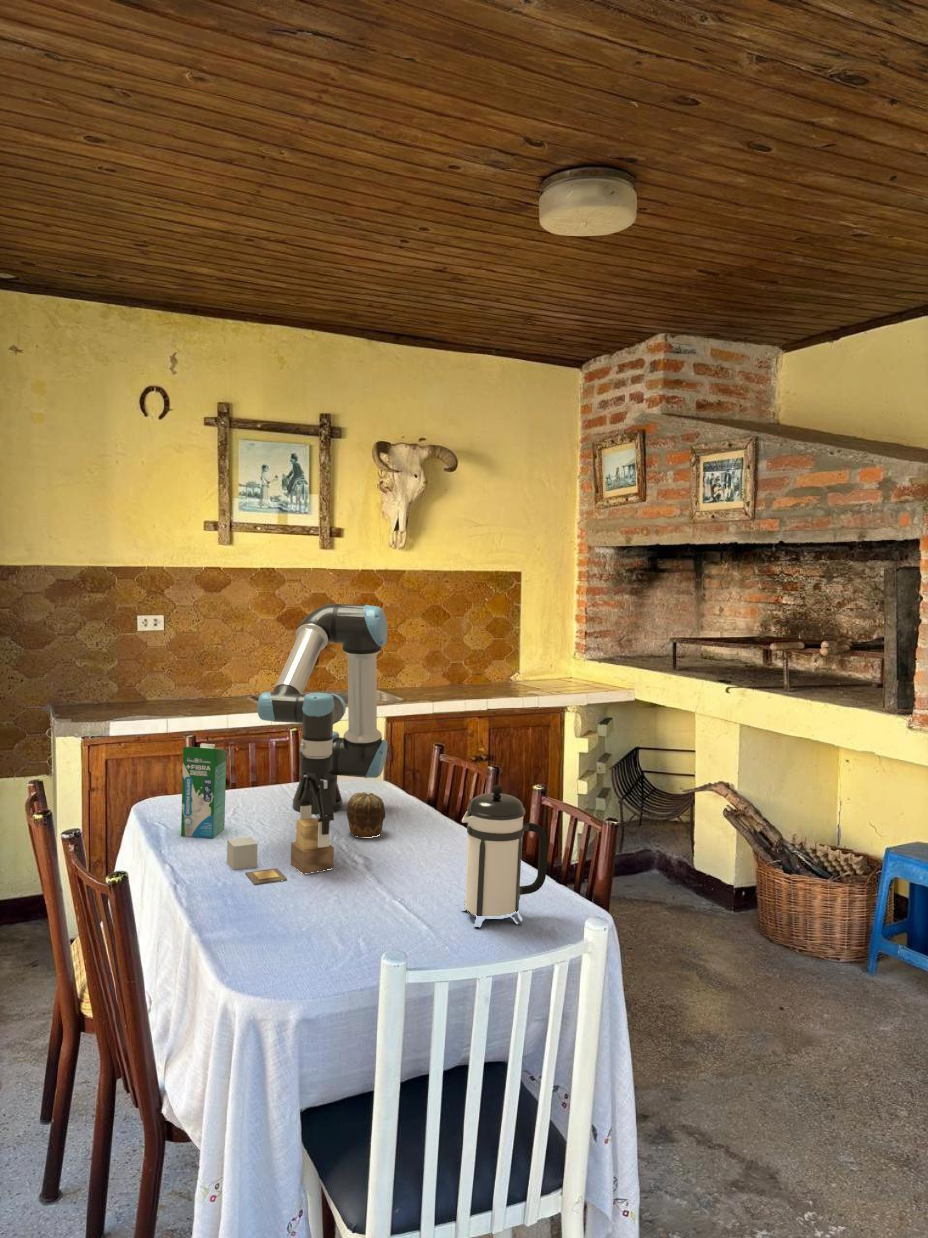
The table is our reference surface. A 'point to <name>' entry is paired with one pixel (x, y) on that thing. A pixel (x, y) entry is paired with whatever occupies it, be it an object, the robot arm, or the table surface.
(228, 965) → the table surface
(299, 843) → the maple cube
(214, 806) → the milk carton
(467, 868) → the coffee press
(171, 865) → the table surface
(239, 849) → the beige cube
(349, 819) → the shell
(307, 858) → the walnut block
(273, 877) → the tile
